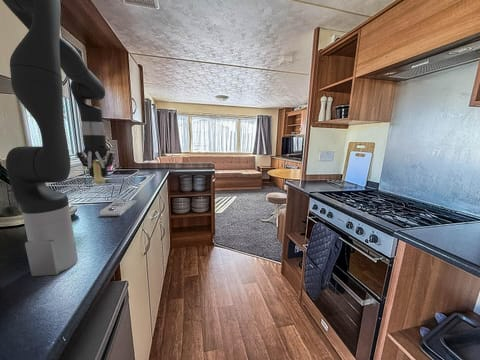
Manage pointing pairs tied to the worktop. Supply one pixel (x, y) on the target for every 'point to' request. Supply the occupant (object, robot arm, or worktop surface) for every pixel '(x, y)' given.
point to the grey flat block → (117, 208)
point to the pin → (97, 173)
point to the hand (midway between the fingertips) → (99, 176)
